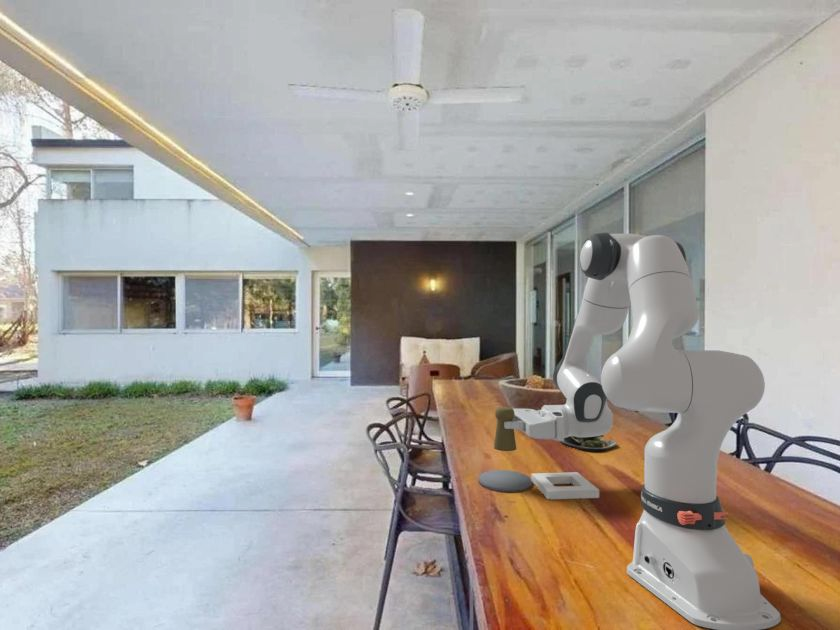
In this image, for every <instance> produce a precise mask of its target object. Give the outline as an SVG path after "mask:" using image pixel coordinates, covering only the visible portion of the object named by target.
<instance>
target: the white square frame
mask: <svg viewBox="0 0 840 630" xmlns="http://www.w3.org/2000/svg"><path fill="white" fill-rule="evenodd" d="M530 479H531V483H532V484H535V485H536V486H537V487H538V488H537V487H536V486H535V485H534V486H535V487H536V488H537V490H539V491H540V493H541V494H544V495H543V496H544V497H545V498H546V499H547V500H549V499H550V500H573V499H574V500H575V499H578V500H579V499H580V498H581V499H599V498H600V489H599V488H597V486H595V485H594V484H593V483H592V482H590V481H589V480H588V479H587V478H585V477H584V476H583V475H581V474H580V473H579V472H577V471H575V472H574V471H573V472H543V473H540V472H538V473H536V472H535V473H534V472H533V473H530ZM570 483H571V485H567V484H570ZM565 484H566V486H555V485H565ZM572 484H573V485H572Z"/></svg>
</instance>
